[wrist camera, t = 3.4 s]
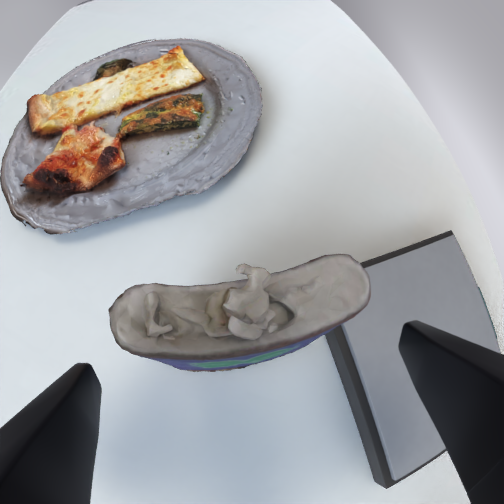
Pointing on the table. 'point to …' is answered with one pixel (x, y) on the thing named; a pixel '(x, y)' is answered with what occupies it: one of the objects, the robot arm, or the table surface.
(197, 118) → the food plate
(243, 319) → the flask
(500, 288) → the table surface
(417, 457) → the scale
